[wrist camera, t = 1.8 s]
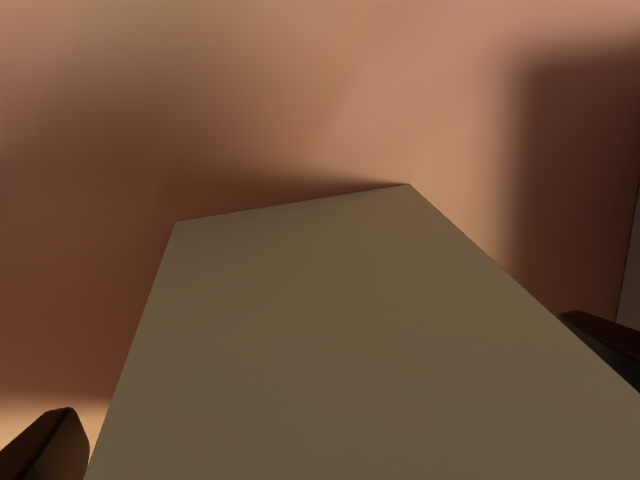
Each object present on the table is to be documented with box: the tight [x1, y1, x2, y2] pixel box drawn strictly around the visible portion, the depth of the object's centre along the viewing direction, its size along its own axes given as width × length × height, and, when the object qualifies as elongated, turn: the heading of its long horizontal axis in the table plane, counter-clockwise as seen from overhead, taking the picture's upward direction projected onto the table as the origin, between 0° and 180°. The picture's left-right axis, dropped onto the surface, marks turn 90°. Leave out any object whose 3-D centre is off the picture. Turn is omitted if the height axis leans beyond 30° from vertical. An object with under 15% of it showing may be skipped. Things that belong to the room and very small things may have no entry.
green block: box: [83, 184, 640, 480], centre depth 7 cm, size 5×5×8 cm
